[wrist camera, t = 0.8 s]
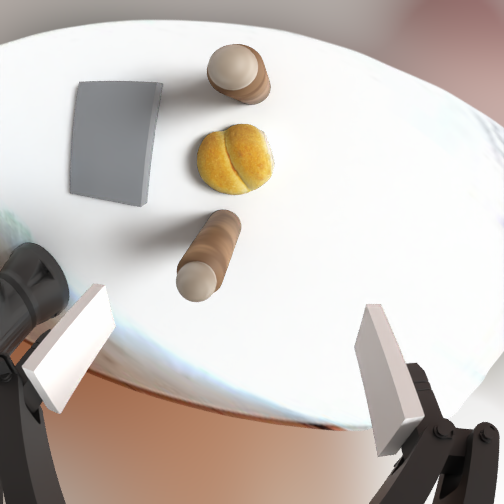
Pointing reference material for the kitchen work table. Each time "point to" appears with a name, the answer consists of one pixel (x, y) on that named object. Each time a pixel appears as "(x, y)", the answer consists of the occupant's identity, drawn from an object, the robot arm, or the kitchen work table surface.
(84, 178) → the slate board
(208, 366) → the kitchen work table surface
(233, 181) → the bread roll
